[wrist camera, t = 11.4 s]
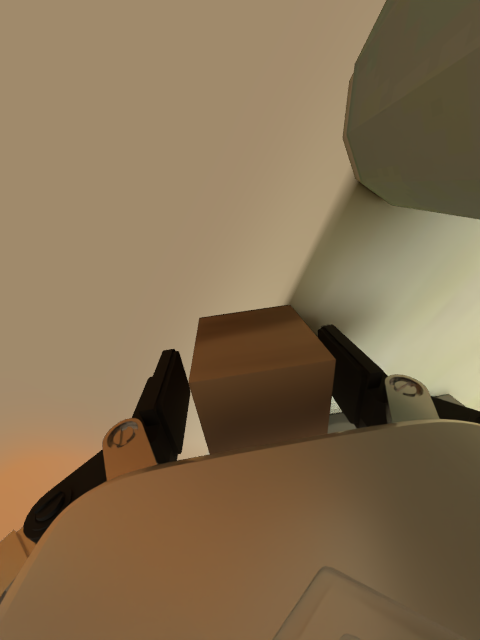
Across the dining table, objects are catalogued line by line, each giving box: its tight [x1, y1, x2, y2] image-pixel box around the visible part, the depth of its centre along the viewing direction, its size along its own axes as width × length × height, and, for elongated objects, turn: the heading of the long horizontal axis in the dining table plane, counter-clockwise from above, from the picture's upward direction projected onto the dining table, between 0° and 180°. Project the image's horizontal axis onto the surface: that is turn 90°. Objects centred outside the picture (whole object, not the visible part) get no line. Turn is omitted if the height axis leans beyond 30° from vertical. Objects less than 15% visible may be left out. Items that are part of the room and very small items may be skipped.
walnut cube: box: [189, 305, 336, 454], centre depth 10 cm, size 5×5×5 cm
